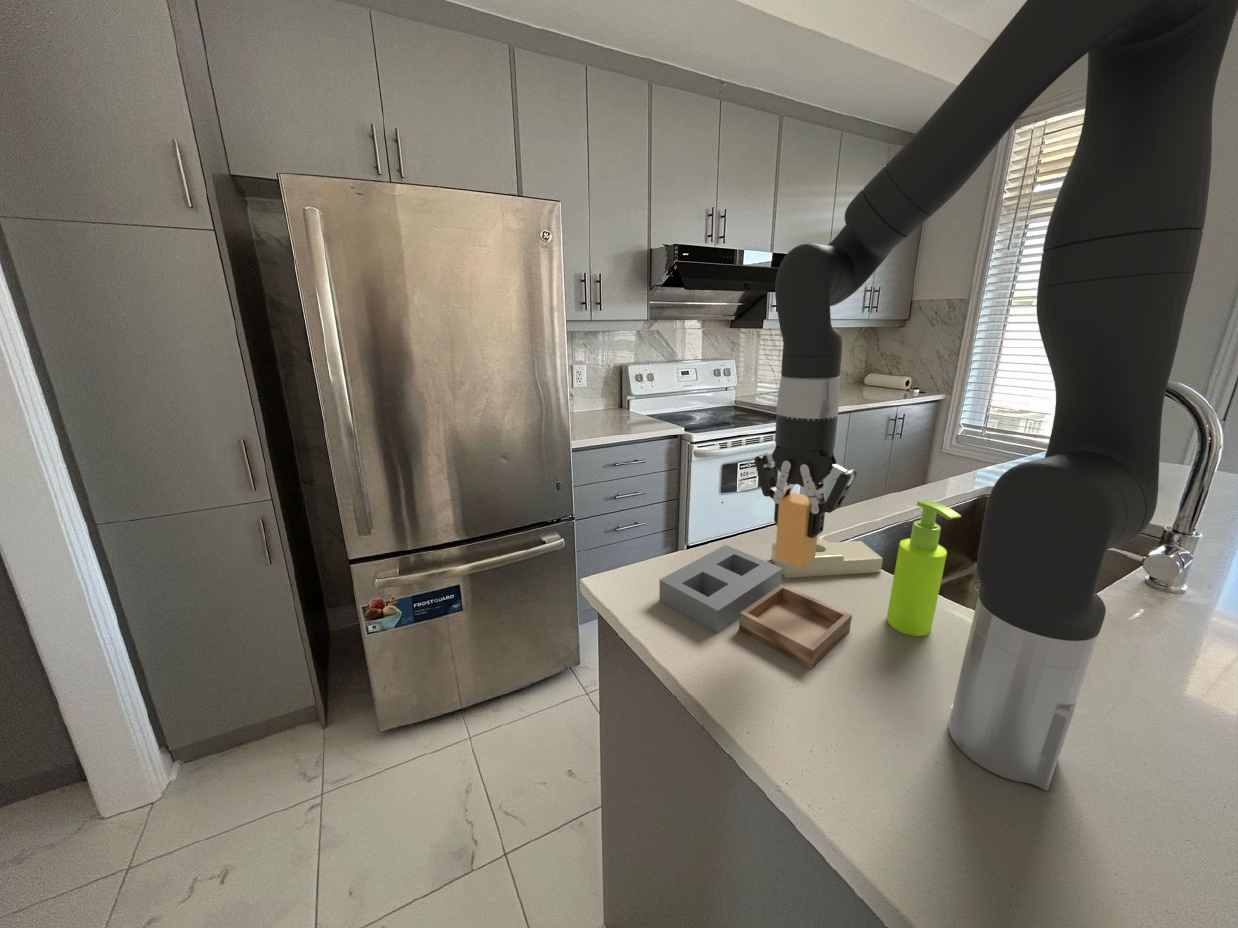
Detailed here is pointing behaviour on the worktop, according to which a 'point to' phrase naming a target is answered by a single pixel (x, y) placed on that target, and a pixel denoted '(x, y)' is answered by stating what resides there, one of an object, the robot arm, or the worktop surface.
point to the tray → (795, 624)
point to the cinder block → (719, 586)
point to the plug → (794, 531)
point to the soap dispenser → (919, 573)
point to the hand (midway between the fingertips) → (797, 530)
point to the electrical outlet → (834, 560)
